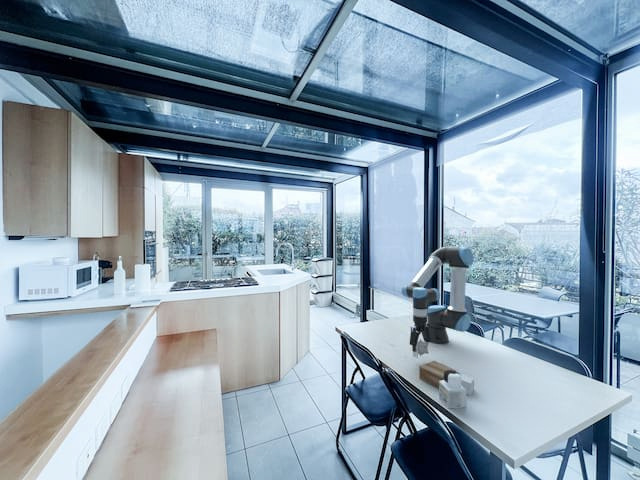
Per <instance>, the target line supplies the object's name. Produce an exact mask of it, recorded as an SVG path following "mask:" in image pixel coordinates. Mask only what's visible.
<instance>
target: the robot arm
mask: <svg viewBox="0 0 640 480" xmlns="http://www.w3.org/2000/svg"><path fill="white" fill-rule="evenodd" d="M473 263H474V253H473V252H472V250H471V249H470V247H467V246H466V247H464V246H442V247H440V248H438V249H437V250H435V251H434V252H432V253H431V254H430V256H429V257H428V261H427V262H426V263H425V264H424V266H423V267H422V268H421V269H420V271H419V272H418V273H417V274H416V275H415V277H414V279H412V281H411V282H410V283H409V284H407V285H406V284H405V285H403V286H402V287H401V294H402V296H403V297H405V298H408V299H412V313H413V315H412V322H413V323H414V324H413V325H414V326H410V335H409V345H410V346H412V347H411V348H412V357H414V358H416V359H418V358H419V356H418V355H419V354H418V346H417V342H418V341H419V339H420V338H419V337H420V335H422V338H423V340H422V342H424V343H426V344H427V352H428V353H425V355H428V354H429V343H433V344H447V343H449V335H448V332H447V329H446V328H448V329H450V330H454V331H456V332H461V333H465V332H466V331H468V329H469V327H470V326H471V322H472V321H471V320H472V318H471V316H470V314H468V310H467V309H466V307H465V304H466V303H465V302H466V280H467V271H468V270H469V268H470V266H472V265H473ZM445 264H447V265H448V267H449V269H450V270H451V272H450V274H451V276H450V292H449V293H450V294H449V296H450V297H449V306H445V305H439V304H438V305H430V306H428V304H430V303H434V302H437V301H439V299H440V298H441V293H440V291H439V290H438V289H437V288H432V287H431V288H426V287H425V286H426V284H427V283H428V282H429V280H430V279H431V278H432V276H433V275H434V274H435V272H437V270H438V268H441V267H442V266H443V265H445ZM446 307H447V308H446Z"/></svg>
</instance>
